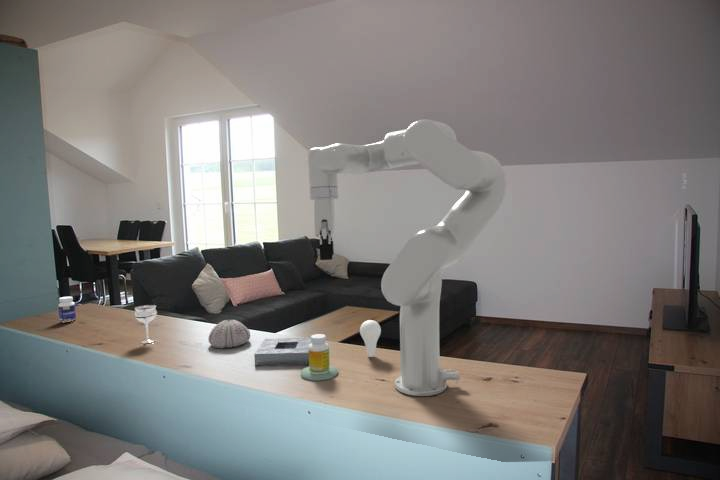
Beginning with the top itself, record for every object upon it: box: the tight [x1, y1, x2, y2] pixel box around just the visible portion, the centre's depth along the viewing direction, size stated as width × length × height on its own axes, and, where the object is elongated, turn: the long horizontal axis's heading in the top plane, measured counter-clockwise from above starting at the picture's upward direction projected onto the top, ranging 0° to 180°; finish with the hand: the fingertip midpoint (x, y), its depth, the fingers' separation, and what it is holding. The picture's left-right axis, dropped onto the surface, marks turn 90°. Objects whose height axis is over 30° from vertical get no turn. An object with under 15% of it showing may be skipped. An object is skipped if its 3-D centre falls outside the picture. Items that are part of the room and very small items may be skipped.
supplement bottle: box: [308, 333, 331, 375], centre depth 129 cm, size 5×5×10 cm
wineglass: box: [134, 304, 158, 343], centre depth 161 cm, size 7×7×12 cm
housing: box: [253, 337, 312, 367], centre depth 143 cm, size 16×14×4 cm
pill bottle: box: [57, 295, 77, 321], centre depth 192 cm, size 6×6×10 cm
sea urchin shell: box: [207, 319, 251, 349], centre depth 157 cm, size 13×14×8 cm
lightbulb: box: [359, 319, 382, 358], centre depth 140 cm, size 6×6×11 cm
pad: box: [300, 364, 339, 382], centre depth 129 cm, size 10×10×1 cm
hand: (327, 257), depth 131 cm, fingers open, 9 cm apart
